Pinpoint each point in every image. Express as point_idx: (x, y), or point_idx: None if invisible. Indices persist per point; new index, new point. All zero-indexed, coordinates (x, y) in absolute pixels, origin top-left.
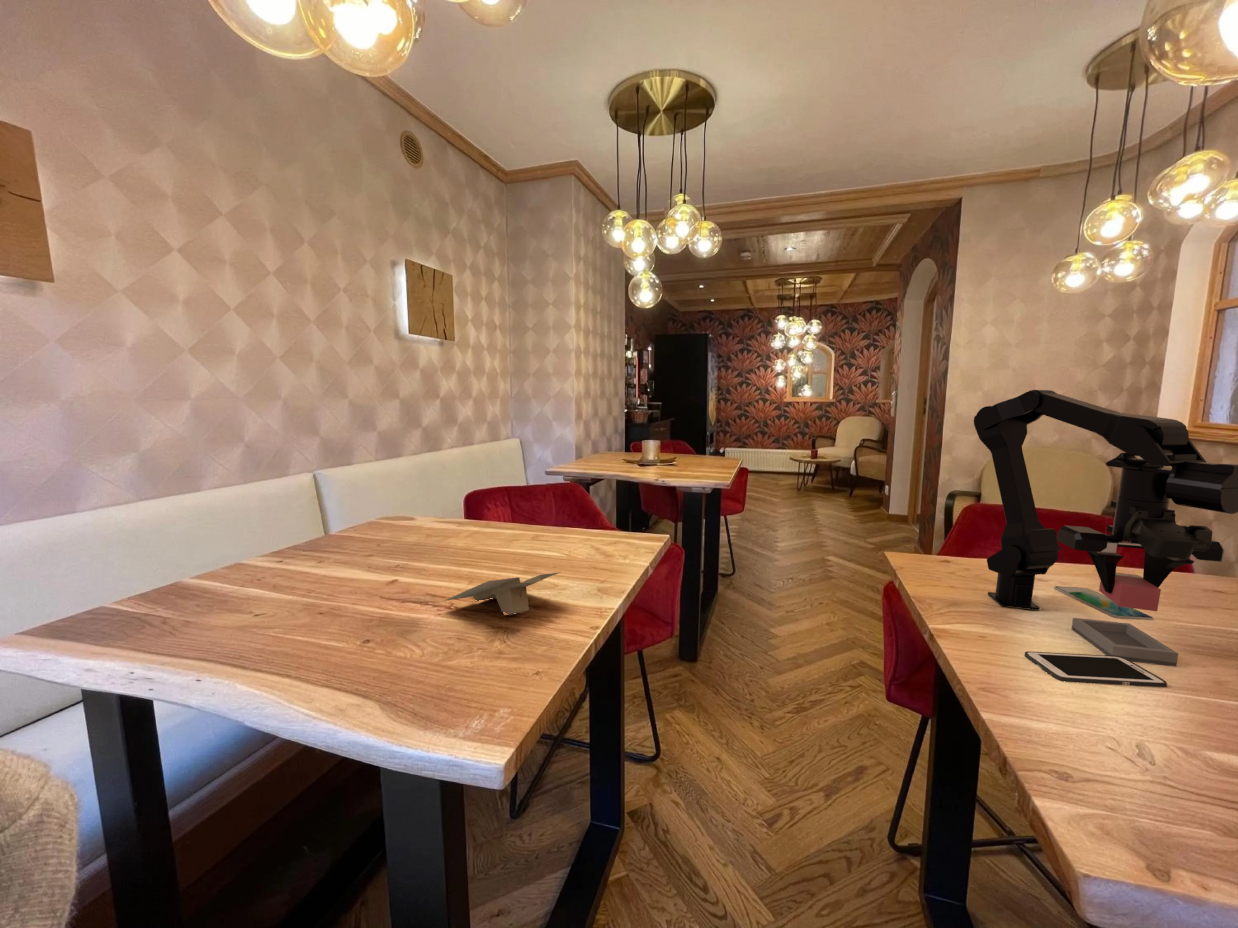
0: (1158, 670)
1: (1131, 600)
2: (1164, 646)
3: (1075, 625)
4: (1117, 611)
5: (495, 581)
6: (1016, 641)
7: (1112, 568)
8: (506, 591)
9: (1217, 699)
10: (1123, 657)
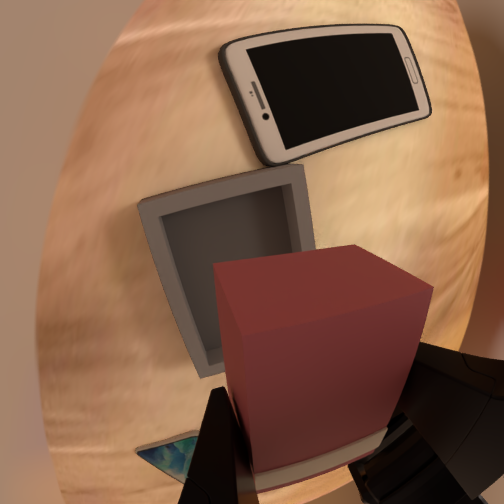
0: (197, 142)
1: (338, 260)
2: (158, 244)
3: None
4: (189, 450)
5: None
6: (426, 176)
7: (482, 376)
8: None
9: (135, 38)
10: (268, 162)
